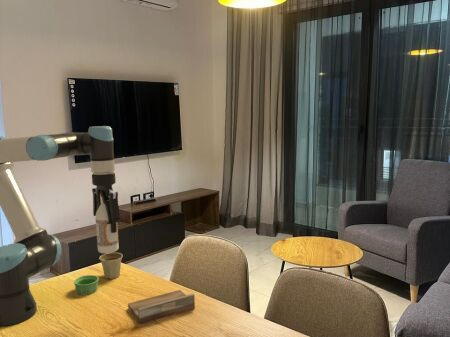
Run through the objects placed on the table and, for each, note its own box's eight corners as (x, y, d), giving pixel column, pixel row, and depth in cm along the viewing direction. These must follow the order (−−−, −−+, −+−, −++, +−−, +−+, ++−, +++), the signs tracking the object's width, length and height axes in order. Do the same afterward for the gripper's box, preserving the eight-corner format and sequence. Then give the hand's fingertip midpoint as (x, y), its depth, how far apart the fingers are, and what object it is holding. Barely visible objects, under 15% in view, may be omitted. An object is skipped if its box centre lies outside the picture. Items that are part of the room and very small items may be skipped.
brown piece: (128, 308, 139) (127, 295, 138) (180, 294, 149) (179, 282, 148) (140, 324, 128) (139, 310, 128) (195, 308, 139) (194, 295, 138)
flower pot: (111, 282, 160) (110, 262, 159) (95, 277, 165) (94, 258, 164) (128, 274, 168) (127, 255, 167) (112, 270, 173) (111, 251, 172)
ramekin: (70, 290, 153) (69, 280, 153) (91, 283, 160) (91, 273, 159) (81, 298, 147) (81, 287, 147) (103, 290, 154) (103, 279, 153)
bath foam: (104, 255, 131) (100, 196, 128) (94, 250, 136) (89, 193, 133) (122, 250, 136) (119, 192, 133) (112, 245, 141) (108, 190, 138)
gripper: (128, 174, 127) (132, 242, 131) (100, 168, 142) (104, 230, 145) (107, 177, 122) (111, 248, 126) (79, 171, 137) (84, 235, 140)
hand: (107, 239), depth 135 cm, fingers closed on bath foam, 7 cm apart
